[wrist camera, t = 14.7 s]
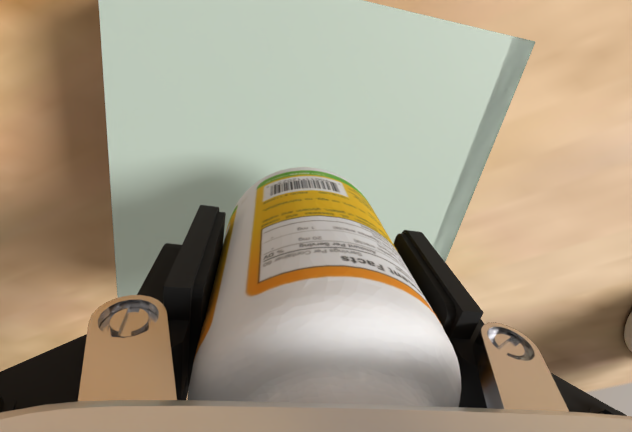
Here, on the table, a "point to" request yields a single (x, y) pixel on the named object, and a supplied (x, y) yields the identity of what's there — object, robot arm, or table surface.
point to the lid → (294, 111)
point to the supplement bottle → (318, 305)
